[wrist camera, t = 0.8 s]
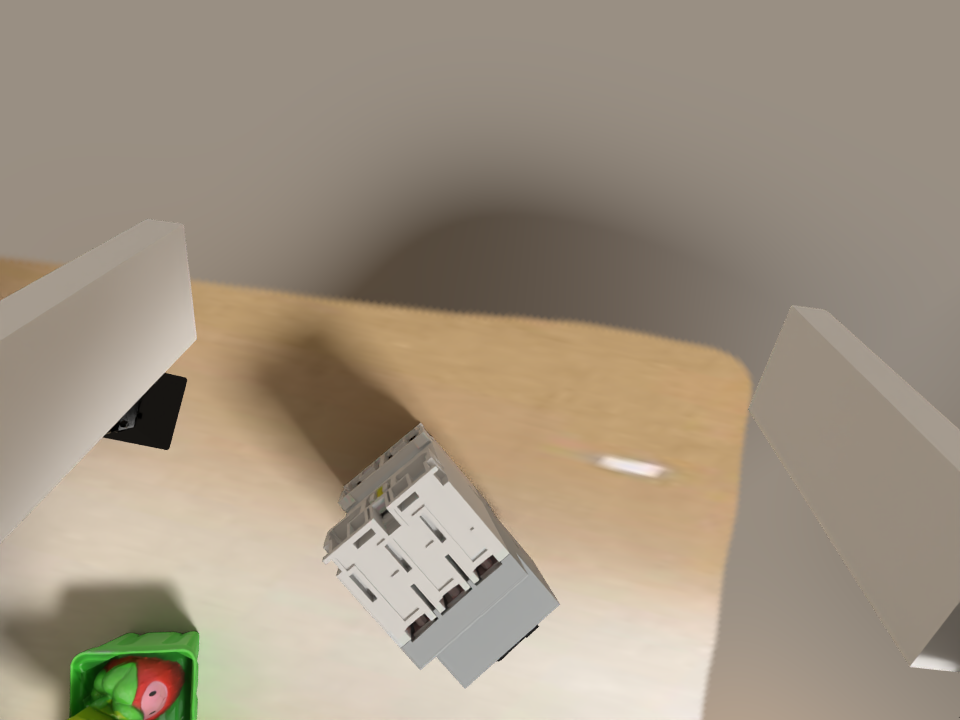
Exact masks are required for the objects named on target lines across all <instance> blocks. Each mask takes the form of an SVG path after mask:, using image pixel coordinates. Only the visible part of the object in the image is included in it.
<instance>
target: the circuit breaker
mask: <svg viewBox="0 0 960 720" xmlns="http://www.w3.org/2000/svg"><path fill="white" fill-rule="evenodd" d="M414 435H415V436H416V437H415V438H414V439H413V440H412V441H409V440H410V439H411V438H412V437H413V436H414ZM390 455H392V457H391V458H390V459H389V458H388V457H389V456H390ZM378 465H379V466H378ZM359 481H361V483H360V484H359V485H358V484H357V483H358V482H359ZM343 488H344V489H345V490H343V491H342V493H341V496H340V499H339V502H338V503H339V505H340V506H341V507H342V509H343V510H344V511H346V512H347V514H346V517H345V518H344V519H342V520H341V521H340V522H339V523H338V524H336V525H335V526H334V527H333V528H332V529H330V530H329V531H328V533H327V536H326V539H325V542H324V549H325V550H326V551H327V553H328V554H327V555H326V556H324V557H323V562H324V564H325V565H326V564H327V563H329V562H330V561H331V560H332V561H333V562H334V563H335V564H336V565H337V566H338V571H337V575H336V577H337V578H338V579H339V580H340V581H341V582H342V584H343V585H344V586H345V587H346V588H347V589H348V590H349V591H350V593H351V594H352V595H353V596H354V597H355V598H356V599H357V600H358V601H359V603H360V604H361V605H362V606H363V607H364V608H365V609H366V610H367V611H368V613H369V614H370V615H371V616H372V617H373V618H374V619H375V620H376V622H377V623H378V624H379V625H380V626H381V627H382V628H383V629H384V630H385V632H386V633H387V634H388V635H389V636H390V637H391V638H392V639H393V640H394V642H395V643H396V644H397V645H398V646H399V647H400V648H401V649H402V651H403V652H404V653H405V654H406V655H407V656H408V657H409V658H410V659H411V661H412V662H413V663H414V664H415V665H416V666H417V667H418V668H419V669H420V670H421V669H422V668H424V667H425V666H426V665H427V664H428V663H429V662H430V661H432V660H433V659H434V658H435V657H437V658H438V659H439V660H440V661H441V663H442V664H443V665H444V666H445V667H446V668H447V669H448V670H449V671H450V673H451V674H452V675H453V676H454V677H455V678H456V679H457V680H458V681H459V683H460V684H461V685H462V686H463V687H464V688H467V687H468V686H469V685H470V684H471V683H472V682H473V681H474V680H476V679H477V678H478V677H479V676H480V675H481V674H482V673H483V672H485V671H486V670H487V669H488V668H489V667H490V666H491V665H492V664H494V663H495V662H496V661H498V662H499V661H500V660H502V659H503V658H504V657H505V656H506V655H507V654H508V653H509V652H510V651H511V650H512V649H513V648H514V647H516V646H517V645H518V644H519V643H520V642H521V641H522V640H523V639H524V638H525V637H526V638H527V637H528V636H529V635H530V634H531V633H532V632H534V631H535V630H536V629H537V628H538V627H539V626H538V625H537V624H539V623H540V622H541V621H542V620H543V619H544V618H545V617H547V616H548V615H549V614H550V613H551V612H552V611H553V610H554V609H556V608H557V607H558V606H559V605H560V604H559V602H558V601H557V599H556V597H555V596H554V594H553V592H552V591H551V589H550V588H549V586H548V584H547V583H546V581H545V579H544V578H543V576H542V575H541V573H540V571H539V570H538V568H537V567H536V565H535V563H534V562H533V560H532V559H531V558H530V557H529V555H528V554H527V553H526V552H525V551H524V550H523V548H522V547H521V546H520V545H519V544H518V542H517V541H516V540H515V539H514V538H513V536H512V535H511V534H510V533H509V532H508V530H507V529H506V528H505V527H504V526H503V525H502V523H501V522H500V521H499V520H498V519H497V517H496V516H495V515H494V513H493V511H492V510H491V508H490V506H489V504H488V502H487V501H486V500H485V499H484V497H483V496H482V495H481V494H480V493H479V491H478V490H477V489H476V488H475V487H474V486H473V484H472V483H471V482H470V481H469V480H468V478H467V477H466V476H465V475H464V474H463V472H462V471H461V470H460V469H459V468H458V466H457V465H456V464H455V463H454V462H453V461H452V459H451V458H450V457H449V456H448V455H447V453H446V452H445V451H444V450H443V449H442V447H441V446H440V445H439V444H438V443H437V442H436V440H435V439H434V438H433V437H432V436H430V435H429V434H428V433H427V431H426V430H425V429H424V426H423V425H422V424H421V423H419V424H418V425H417V426H416V427H415V428H413V429H412V430H411V431H410V432H409V433H407V434H406V435H405V436H404V437H403V438H401V439H400V440H399V441H398V442H397V443H395V444H394V445H393V446H392V447H391V448H389V449H388V450H387V451H386V452H385V453H383V454H382V455H381V456H380V457H379V458H377V459H376V460H375V461H374V462H373V463H371V464H370V465H369V466H368V467H367V468H365V469H364V470H363V471H362V472H361V473H359V474H358V475H357V476H356V477H355V478H353V479H352V480H351V481H350V482H349V483H347V484H346V485H345V486H344V487H343Z"/></svg>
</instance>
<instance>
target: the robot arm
mask: <svg viewBox="0 0 960 720" xmlns="http://www.w3.org/2000/svg"><path fill="white" fill-rule="evenodd" d="M196 339H197V336H196V327H195V318H194V309H193V301H192V292H191V283H190V275H189V266H188V257H187V248H186V240H185V231H184V224H183V223H175V222H167V221H160V220H153V219H146V220H144V221H142V222H140V223H138V224H137V225H135V226H133V227H131V228H130V229H128V230H126V231H124V232H122V233H120V234H119V235H117V236H115V237H113V238H112V239H110V240H108V241H106V242H104V243H103V244H101V245H99V246H97V247H95V248H94V249H92V250H90V251H88V252H87V253H85V254H83V255H81V256H79V257H77V258H76V259H74V260H72V261H70V262H68V263H67V264H65V265H63V266H61V267H60V268H58V269H56V270H54V271H52V272H51V273H49V274H47V275H45V276H43V277H42V278H40V279H38V280H36V281H34V282H33V283H31V284H29V285H27V286H25V287H24V288H22V289H20V290H18V291H16V292H15V293H13V294H11V295H9V296H8V297H6V298H4V299H2V300H0V544H1V543H2V541H3V540H4V539H5V538H6V537H7V536H8V535H9V534H10V533H11V532H12V531H13V530H14V529H15V528H16V527H17V526H18V525H19V524H20V523H21V522H22V521H23V520H24V519H25V518H26V516H27V515H28V514H29V513H30V512H31V511H32V510H33V509H34V508H35V507H36V506H37V505H38V504H39V503H40V502H41V501H42V500H43V499H44V498H45V497H46V496H47V495H48V494H49V493H50V491H51V490H52V489H53V488H54V487H55V486H56V485H57V484H58V483H59V482H60V481H61V480H62V479H63V478H64V477H65V476H66V475H67V474H68V473H69V472H70V471H71V470H72V469H73V468H74V466H75V465H76V464H77V463H78V462H79V461H80V460H81V459H82V458H83V457H84V456H85V455H86V454H87V453H88V452H89V451H90V450H91V449H92V448H93V447H94V446H95V445H96V444H97V443H98V441H99V440H100V439H101V438H102V437H103V436H104V435H105V434H106V433H107V432H108V431H109V430H110V429H111V428H112V427H113V426H114V425H115V424H116V423H117V422H118V421H119V420H120V419H121V418H122V416H123V415H124V414H125V413H126V412H127V411H128V410H129V409H130V408H131V407H132V406H133V405H134V404H135V403H136V402H137V401H138V400H139V399H140V398H141V397H142V396H143V395H144V394H145V393H146V391H147V390H148V389H149V388H150V387H151V386H152V385H153V384H154V383H155V382H156V381H157V380H158V379H159V378H160V377H161V376H162V375H163V374H164V373H165V372H166V371H167V370H168V369H169V368H170V366H171V365H172V364H173V363H174V362H175V361H176V360H177V359H178V358H179V357H180V356H181V355H182V354H183V353H184V352H185V351H186V350H187V349H188V348H189V347H190V346H191V345H192V344H193V343H194V341H195V340H196ZM748 410H749V412H750V413H751V415H752V417H753V418H754V420H755V421H756V423H757V424H758V426H759V428H760V429H761V431H762V432H763V434H764V436H765V437H766V439H767V440H768V442H769V444H770V445H771V446H772V448H773V450H774V451H775V453H776V455H777V456H778V458H779V459H780V461H781V462H782V464H783V466H784V467H785V469H786V470H787V472H788V474H789V475H790V477H791V479H792V480H793V482H794V483H795V485H796V486H797V488H798V490H799V491H800V493H801V494H802V496H803V497H804V499H805V501H806V502H807V504H808V505H809V507H810V509H811V510H812V512H813V514H814V515H815V517H816V518H817V520H818V521H819V523H820V525H821V526H822V528H823V529H824V531H825V532H826V534H827V536H828V537H829V539H830V541H831V542H832V544H833V545H834V547H835V549H836V550H837V551H838V553H839V555H840V556H841V558H842V559H843V561H844V563H845V564H846V566H847V568H848V569H849V571H850V572H851V574H852V575H853V577H854V579H855V580H856V582H857V583H858V585H859V587H860V588H861V590H862V591H863V593H864V594H865V596H866V598H867V599H868V601H869V603H870V604H871V606H872V607H873V609H874V611H875V612H876V614H877V615H878V617H879V618H880V620H881V622H882V623H883V625H884V626H885V628H886V630H887V631H888V633H889V634H890V636H891V638H892V639H893V641H894V642H895V644H896V645H897V647H898V649H899V650H900V652H901V653H902V655H903V657H904V658H905V660H906V661H907V663H908V664H909V666H910V667H918V668H926V669H935V670H944V671H952V672H960V430H959V429H958V428H957V427H956V426H955V425H954V424H952V423H951V422H950V421H949V420H948V419H947V418H946V417H945V416H944V415H942V414H941V413H940V412H939V411H938V410H937V409H936V408H935V407H933V406H932V405H931V404H930V403H929V402H928V401H927V400H926V399H925V398H924V397H922V396H921V395H920V394H919V393H918V392H917V391H916V390H914V389H913V388H912V387H911V386H910V385H909V384H908V383H907V382H906V381H905V380H903V379H902V378H901V377H900V376H899V375H898V374H897V373H896V372H895V371H893V370H892V369H891V368H890V367H889V366H888V365H887V364H886V363H884V362H883V361H882V360H881V359H880V358H879V357H878V356H877V355H876V354H874V353H873V352H872V351H871V350H870V349H869V348H868V347H867V346H865V345H864V344H863V343H862V342H861V341H860V340H859V339H858V338H857V337H856V336H854V335H853V334H852V333H851V332H850V331H849V330H848V329H847V328H846V327H844V326H843V325H842V324H841V323H840V322H839V321H838V320H837V319H836V318H834V317H833V316H832V315H831V314H830V313H829V312H828V311H827V310H824V309H817V308H809V307H802V306H794V305H791V308H790V310H789V313H788V315H787V317H786V320H785V322H784V324H783V327H782V329H781V332H780V334H779V337H778V339H777V341H776V344H775V346H774V349H773V351H772V353H771V356H770V358H769V361H768V363H767V365H766V368H765V370H764V373H763V375H762V377H761V380H760V382H759V384H758V387H757V389H756V392H755V394H754V396H753V399H752V401H751V404H750V406H749V408H748Z"/></svg>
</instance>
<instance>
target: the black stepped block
mask: <svg viewBox="0 0 960 720" xmlns="http://www.w3.org/2000/svg"><path fill="white" fill-rule="evenodd" d="M186 383H187V379H186V378H185V377H181V376H176V375H172V374H168V373H164V374H163V375H162V376H161V377H160V378H159V379H158V380H157V381H156V382H155V383H154V384H153V385H152V386H151V387H150V388H149V389H148V390H147V391H146V393H145V394H144V395H143V396H142V397H141V398H140V399H139V400H138V401H137V402H136V403H135V404H134V405H133V406H132V407H131V408H130V409H129V410H128V411H127V412H126V413H125V414H124V415H123V416H122V418H121V419H120V420H119V421H118V422H117V423H116V424H115V425H114V426H113V427H112V428H111V429H110V430H109V431H108V432H107V433H106V434H105V435H104V436H103V437H104V438H109V439H114V440H119V441H124V442H129V443H134V444H139V445H144V446H149V447H154V448H159V449H164V450H168V449H169V448H170V444H171V440H172V436H173V433H174V429H175V425H176V421H177V417H178V413H179V410H180V406H181V402H182V398H183V394H184V391H185V387H186Z"/></svg>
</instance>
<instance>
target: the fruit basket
mask: <svg viewBox="0 0 960 720" xmlns="http://www.w3.org/2000/svg"><path fill="white" fill-rule="evenodd" d="M198 652H199V633H198V632H196V631H191V632H188V633H184V634H181V633H177V632H150V633H146V634H143V635H139V634H135V633H127V634H125V635H123V636H120V637H118V638H116V639H114V640H112V641H110V642H108V643H106V644H104V645H102V646H100V647H96V648H92V649H89V650H86V651H84V652H82V653H79V654H77V655H76V656H75V657H74V658H73V660H72V662H71V665H70V715H69V719H67V720H197V704H198V699H197V695H196V692H197V686H198V663H197V658H198Z"/></svg>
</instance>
